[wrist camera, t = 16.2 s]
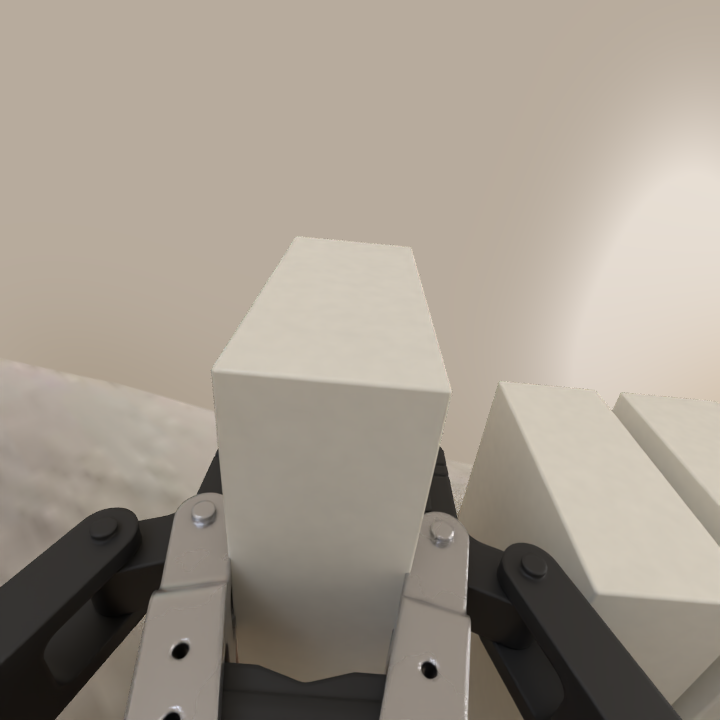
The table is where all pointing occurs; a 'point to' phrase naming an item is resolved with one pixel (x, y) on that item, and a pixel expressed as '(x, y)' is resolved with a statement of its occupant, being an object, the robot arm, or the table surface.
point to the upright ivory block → (327, 454)
